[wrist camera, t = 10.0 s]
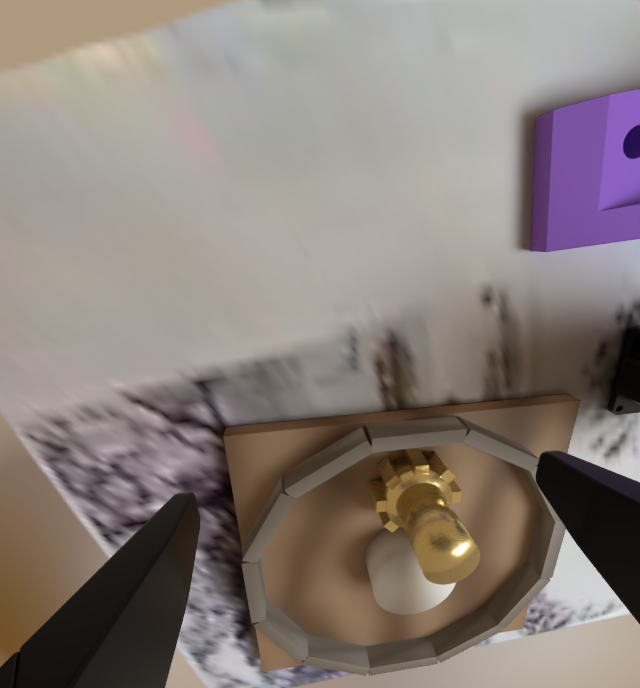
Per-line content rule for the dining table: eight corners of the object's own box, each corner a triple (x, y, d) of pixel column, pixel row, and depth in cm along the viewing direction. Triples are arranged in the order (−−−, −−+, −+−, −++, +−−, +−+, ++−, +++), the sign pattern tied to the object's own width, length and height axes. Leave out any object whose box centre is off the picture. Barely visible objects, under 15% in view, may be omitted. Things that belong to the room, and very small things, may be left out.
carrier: (568, 393, 23) (616, 420, 19) (515, 616, 31) (543, 662, 27) (226, 427, 21) (215, 463, 17) (263, 657, 28) (260, 712, 25)
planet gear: (450, 442, 22) (510, 514, 16) (443, 507, 24) (494, 592, 18) (369, 450, 21) (401, 528, 16) (368, 517, 23) (396, 607, 17)
